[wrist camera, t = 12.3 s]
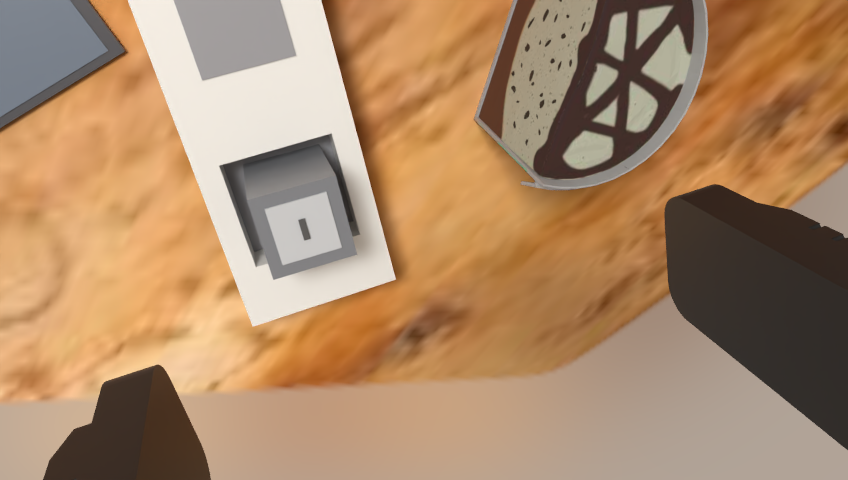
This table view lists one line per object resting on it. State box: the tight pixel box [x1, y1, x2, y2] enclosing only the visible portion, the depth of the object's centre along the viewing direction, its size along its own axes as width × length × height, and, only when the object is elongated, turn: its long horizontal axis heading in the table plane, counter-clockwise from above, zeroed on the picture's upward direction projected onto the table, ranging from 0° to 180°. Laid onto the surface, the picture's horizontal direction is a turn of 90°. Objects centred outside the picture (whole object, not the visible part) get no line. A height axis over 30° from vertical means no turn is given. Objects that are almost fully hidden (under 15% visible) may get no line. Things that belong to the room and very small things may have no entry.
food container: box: [474, 0, 708, 190], centre depth 34 cm, size 12×6×10 cm, turn 162°
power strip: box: [128, 0, 396, 326], centre depth 32 cm, size 26×8×4 cm, turn 12°
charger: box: [243, 144, 357, 280], centre depth 33 cm, size 4×4×6 cm
